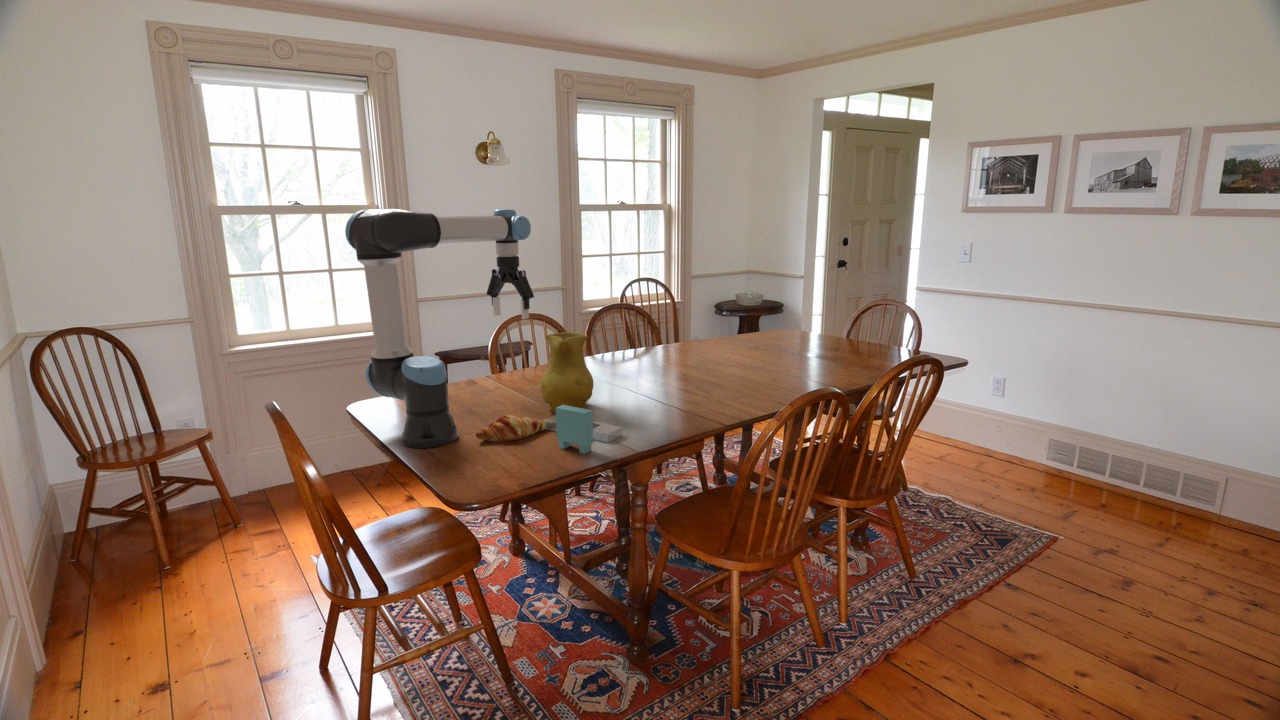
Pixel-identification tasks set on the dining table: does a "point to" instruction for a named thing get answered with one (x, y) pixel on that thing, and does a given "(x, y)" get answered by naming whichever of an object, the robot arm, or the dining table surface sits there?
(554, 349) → the pitcher
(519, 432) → the croissant
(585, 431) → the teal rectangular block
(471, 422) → the dining table surface
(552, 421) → the rail
